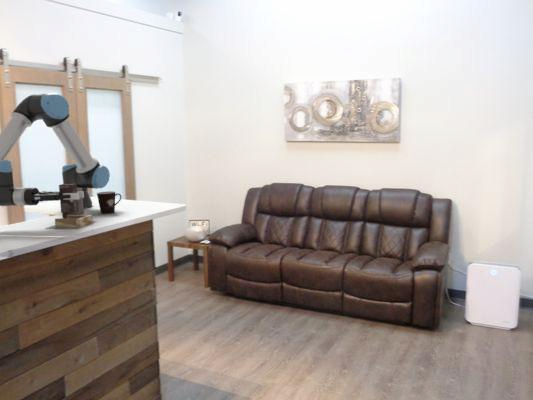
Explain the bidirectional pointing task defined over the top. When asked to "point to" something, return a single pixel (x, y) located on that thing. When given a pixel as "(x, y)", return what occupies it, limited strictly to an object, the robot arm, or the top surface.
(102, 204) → the coffee mug
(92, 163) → the robot arm
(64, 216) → the pillar candle
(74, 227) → the mat
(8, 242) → the top surface
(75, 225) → the wooden tray
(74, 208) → the box
